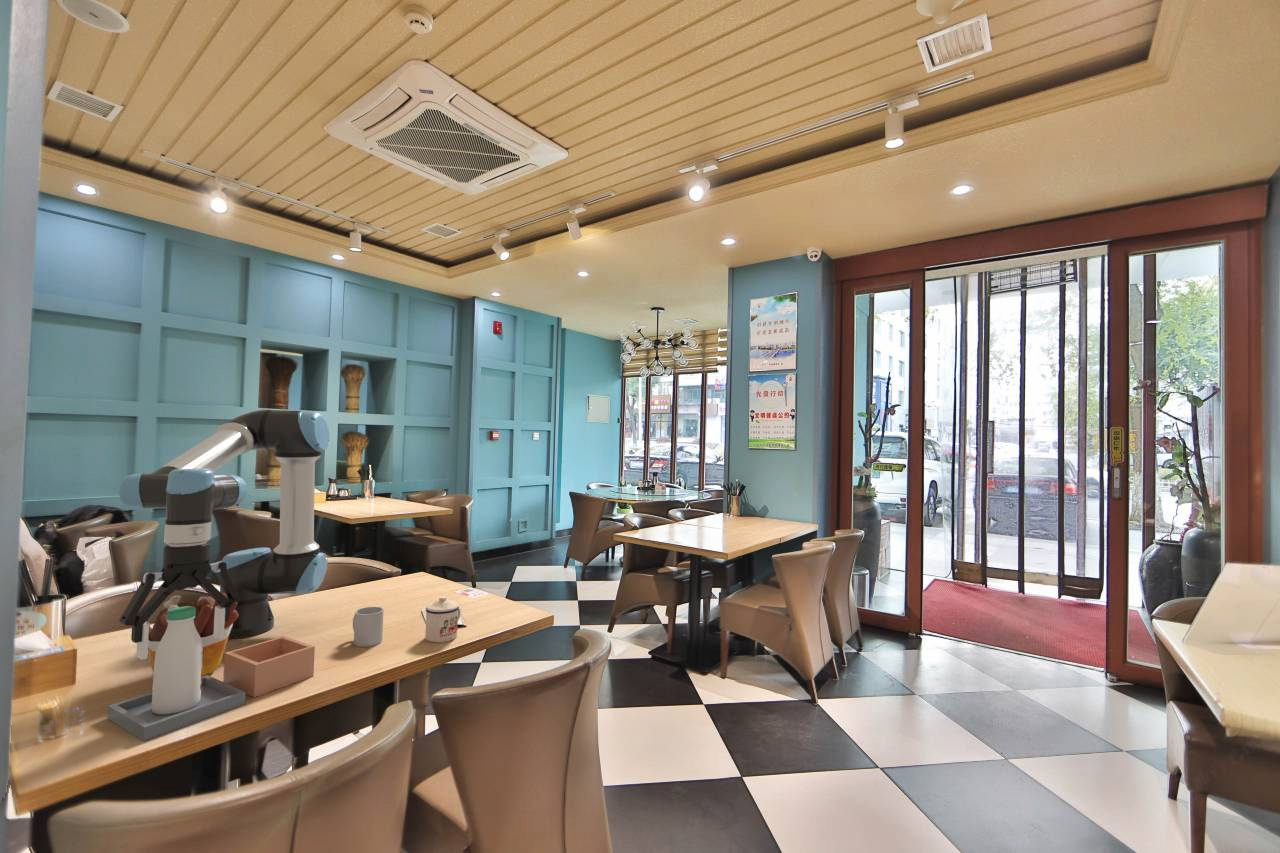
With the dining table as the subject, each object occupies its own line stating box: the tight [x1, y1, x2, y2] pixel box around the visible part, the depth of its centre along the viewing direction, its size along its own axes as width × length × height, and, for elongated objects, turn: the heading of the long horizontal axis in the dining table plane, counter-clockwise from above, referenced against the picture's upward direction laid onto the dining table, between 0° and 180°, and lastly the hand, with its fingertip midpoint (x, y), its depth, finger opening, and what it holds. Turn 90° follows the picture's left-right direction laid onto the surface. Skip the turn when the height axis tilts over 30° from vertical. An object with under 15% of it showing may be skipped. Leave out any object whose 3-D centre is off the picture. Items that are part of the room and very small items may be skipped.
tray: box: [107, 674, 247, 742], centre depth 113 cm, size 16×17×2 cm
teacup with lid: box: [424, 595, 462, 644], centre depth 160 cm, size 12×9×12 cm
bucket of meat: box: [145, 593, 239, 677], centre depth 130 cm, size 20×16×20 cm
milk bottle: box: [151, 606, 203, 715], centre depth 113 cm, size 8×8×20 cm
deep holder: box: [222, 635, 316, 698], centre depth 128 cm, size 13×13×7 cm
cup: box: [352, 606, 384, 648], centre depth 154 cm, size 7×10×9 cm
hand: (182, 647), depth 113 cm, fingers open, 12 cm apart
